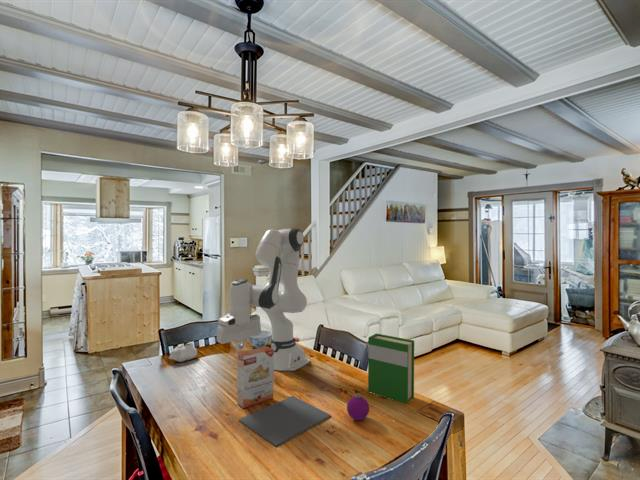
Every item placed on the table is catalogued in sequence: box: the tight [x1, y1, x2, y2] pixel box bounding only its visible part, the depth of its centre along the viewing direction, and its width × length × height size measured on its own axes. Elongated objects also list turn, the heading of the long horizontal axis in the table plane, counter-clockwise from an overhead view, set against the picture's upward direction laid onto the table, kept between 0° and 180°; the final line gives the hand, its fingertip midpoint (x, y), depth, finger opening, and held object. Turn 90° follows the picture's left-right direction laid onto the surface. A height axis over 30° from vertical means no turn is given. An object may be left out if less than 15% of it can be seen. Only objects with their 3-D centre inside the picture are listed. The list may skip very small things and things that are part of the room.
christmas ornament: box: [346, 393, 370, 421], centre depth 128 cm, size 8×8×10 cm
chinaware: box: [247, 330, 272, 349], centre depth 210 cm, size 15×15×8 cm
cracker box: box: [236, 345, 275, 409], centre depth 141 cm, size 14×6×21 cm, turn 130°
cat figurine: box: [168, 342, 198, 363], centre depth 186 cm, size 10×8×15 cm
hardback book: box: [367, 333, 415, 405], centre depth 147 cm, size 18×7×24 cm, turn 54°
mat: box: [238, 395, 332, 448], centre depth 127 cm, size 26×22×1 cm
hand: (239, 349), depth 149 cm, fingers closed
